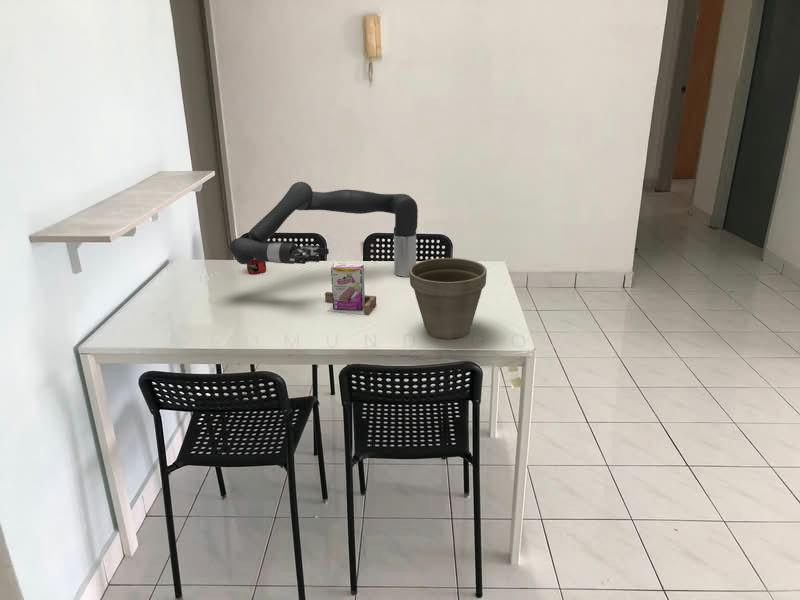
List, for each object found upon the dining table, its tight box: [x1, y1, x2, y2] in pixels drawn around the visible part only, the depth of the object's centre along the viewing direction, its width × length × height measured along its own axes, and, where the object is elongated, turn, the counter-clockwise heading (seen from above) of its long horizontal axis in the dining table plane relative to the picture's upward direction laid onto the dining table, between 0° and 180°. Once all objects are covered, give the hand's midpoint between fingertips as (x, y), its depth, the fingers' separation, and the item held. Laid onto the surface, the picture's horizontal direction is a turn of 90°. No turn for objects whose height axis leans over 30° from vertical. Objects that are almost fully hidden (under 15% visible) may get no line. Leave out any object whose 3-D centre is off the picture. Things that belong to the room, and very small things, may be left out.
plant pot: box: [409, 257, 488, 340], centre depth 197 cm, size 25×25×22 cm
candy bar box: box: [330, 262, 366, 311], centre depth 216 cm, size 11×5×16 cm, turn 83°
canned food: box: [246, 258, 267, 275], centre depth 258 cm, size 8×8×11 cm
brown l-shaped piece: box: [324, 291, 377, 316], centre depth 220 cm, size 10×20×4 cm, turn 75°
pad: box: [327, 304, 364, 315], centre depth 219 cm, size 8×14×1 cm, turn 75°
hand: (324, 255), depth 216 cm, fingers open, 8 cm apart
